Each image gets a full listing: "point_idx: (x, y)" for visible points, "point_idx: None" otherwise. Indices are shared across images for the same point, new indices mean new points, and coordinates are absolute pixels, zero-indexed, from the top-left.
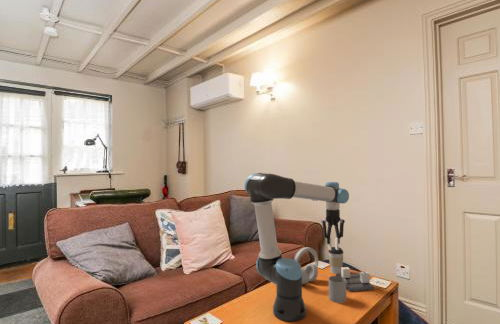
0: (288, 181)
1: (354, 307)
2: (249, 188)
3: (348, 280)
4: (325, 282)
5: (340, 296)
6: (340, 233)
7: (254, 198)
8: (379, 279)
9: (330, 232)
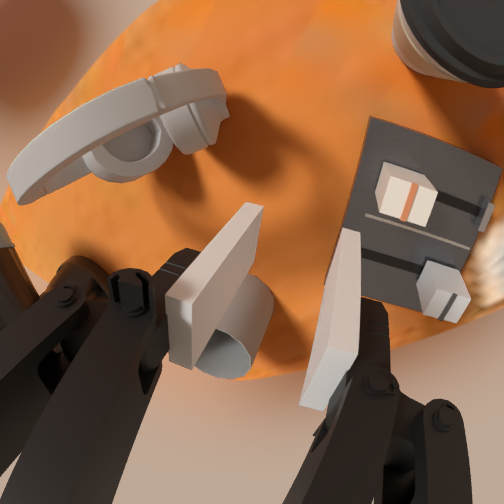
0: None
1: (265, 354)
2: None
3: (384, 222)
4: (276, 147)
5: (230, 336)
6: (431, 466)
7: None
8: None
9: (117, 462)
